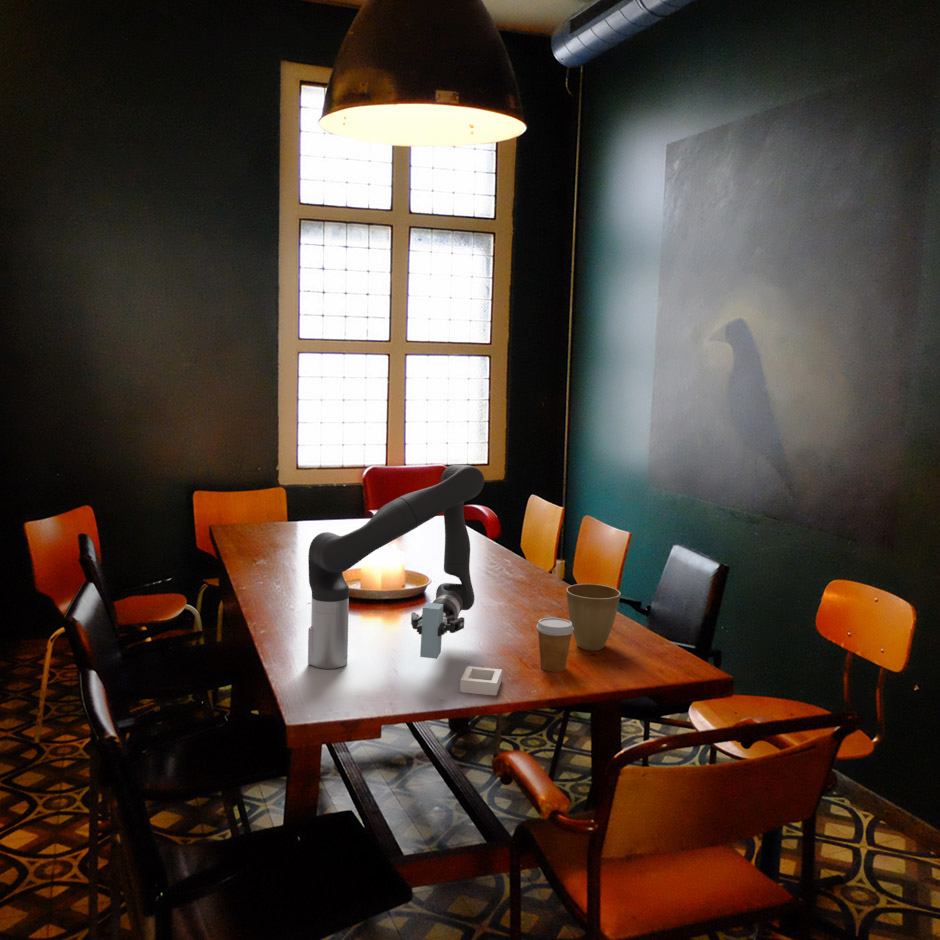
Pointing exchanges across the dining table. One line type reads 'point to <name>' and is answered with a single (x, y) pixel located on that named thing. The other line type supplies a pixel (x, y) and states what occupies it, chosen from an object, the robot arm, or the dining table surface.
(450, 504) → the robot arm
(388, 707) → the dining table surface
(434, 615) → the blue-grey rectangular block
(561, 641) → the disposable coffee cup
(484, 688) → the end cap
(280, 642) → the dining table surface
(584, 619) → the plant pot
